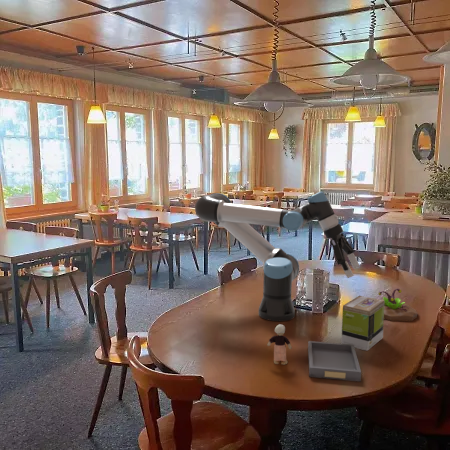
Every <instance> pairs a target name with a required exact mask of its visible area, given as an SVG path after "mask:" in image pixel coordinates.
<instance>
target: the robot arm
mask: <svg viewBox="0 0 450 450" xmlns="http://www.w3.org/2000/svg"><path fill="white" fill-rule="evenodd" d="M194 206H195V207H194V211H195V215H196V216H197V217H198V219H200V220H201V221H204V222H210V223H211V222H212V223H214V224H215V225H216V226H217V227H219V228H224V229H225V230H227V231H228V232H229V233H230V234H231V236H233V237H234V238H235V239H236V240H237V241H238V242H240V243H241V244H242V245H243V246H244V247H245V248H246V249H247V250H248V251H249V252H250V253H251V254H253V256H254V257H256V258H257V259H258V260H260V262H261V263H262V268H263V285H262V286H263V287H262V288H263V291H262V293H263V296H262V298H261V301H260V304H259V307H258V316H259V317H260V318H262V319H264V320H268V321H270V322H271V321H273V322H285V321H291V320H293V319H294V318H295V316H296V311H295V307H294V303H293V300H292V289H293V288H292V287H293V286H292V285H293V284H292V283H293V281H294V280H295V279H296V278H297V277H298V274H299V272H300V263H299V261H298V260H297V258H296V257H295V256H294V255H292V254H290V253H286V252H285V251H284V250H283V249H282V248H279V247H278V248H276V247H275V246H273V244H271V243H270V242H269V240H267V239H266V238H265V237H264V236H262V234H260V232H258V231H257V230H256V229H254V227H253V226H251V225H258V226H266V227H274V228H280V229H281V228H282V229H286V230H288V231H292V232H293V231H297V230H299V229H300V228H302V227H303V226H304V225H305V224H307V223H310V222H311V221H313V220H315V219H317V221H318V224H319V226H320V228H321V230H323V234H324V235H325V238H326V239H331V241H329V242H330V244H331V247H332V250H333V253H334V256H335V260H336V263H337V265H340V267H341V268H342V270H343V272H344V274H345V277H346V278H347V279H349V278H352V277H354V276H355V275H354V273H353V271H352V269H351V266H352V268H353V270H355V269H357V268H360V267H361V266H360V263H359V261H358V259H357V258H356V255H355V254H354V253H355V252H356V251H355V249H354V248H353V247H352V245H351V244H350V242H349V240H347V238H346V237H345V234H344V233H343V232H344V229H343V227H342V225H341V224H340V223H339V219H338V218H339V217H338V215H336V214H335V211H334V210H333V207H332V205H331V203H330V201H329V199H328V197H327V196H326V193H324V191H318V192H316V193H315V194H313V195H310V196H309V197H307V202H306V203H305V204H303V205H300V206H299V207H296V208H294V209H292V210H290V209H281V208H273V207H266V206H265V207H263V206H258V205H257V206H256V205H249V204H239V203H232V202H231V199H230V198H229V197H228V196H227V195H225V194H223V193H218V192H215V193H211V194H205V195H203V196H201V197H199V198H198V199H197V200H196V202H195V205H194ZM344 252H345V253H346V254H347V255H346V256H347V258H348V260H349V262H350V264H351V266H350V265H349V263H348V261H347V260H346V258H345V257H346V256H345V253H344Z"/></svg>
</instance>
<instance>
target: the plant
mask: <svg viewBox="0 0 450 450" xmlns="http://www.w3.org/2000/svg"><path fill="white" fill-rule="evenodd" d="M396 291H397V292H398V293H399V294H402V289H400V288H394V290H393V291H392V293H391V295H390V294H389V293H388V292H387V291H385V290H383V291H379V292H378V296H381V295H382V294H383V293H384V294H385V295H386V297H385V296H383V297H382V300H384V320H387V321H392V322H395V321H396V322H413V321H414V320H415V319H417V318H418V311H417V309H416V308H413V307H412V306H411V305H410V304H406V302H405V301H403V302H401V299H400V298H399V297H395V294H396Z"/></svg>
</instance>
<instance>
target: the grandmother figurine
mask: <svg viewBox="0 0 450 450" xmlns="http://www.w3.org/2000/svg"><path fill="white" fill-rule="evenodd" d="M285 331H286V327H285V325H283V324H280V323H279V324H278V325H276V327H275V328H274V333H276V335H273V336H271V337H270V338H269V339H268V343H267V344H266V346H267V347H271V345H272V344H274V346H273V363H274V365H279V364H281V365H283V366H284V365H287V364H288V360H287V349H286V347H288V349H289V350H291V349H292V347H293V346H292V345H291V341H290V340H289V339H288V337H287V336H285V335H284V334H285Z"/></svg>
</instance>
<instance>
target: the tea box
mask: <svg viewBox="0 0 450 450" xmlns="http://www.w3.org/2000/svg"><path fill="white" fill-rule="evenodd" d="M384 302H385V301H384V300H383V299H377V298H374V297H373V298H372V297H367V296H364V295H363V296H362V295H359V296H356V297H355V298H353V299H351V300H349V301H348V302H346V303H345V304H343V305H342V315H341V316H342V317H341V322H342V323H341V343H340V344H352V345H354V348H355V349H358V350H363V351H369V350H370V349H371V348H372V347H374V346H375V345H376V344H377V343H379V341H381V340H382V339H383V338H384V322H385V319H384Z"/></svg>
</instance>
